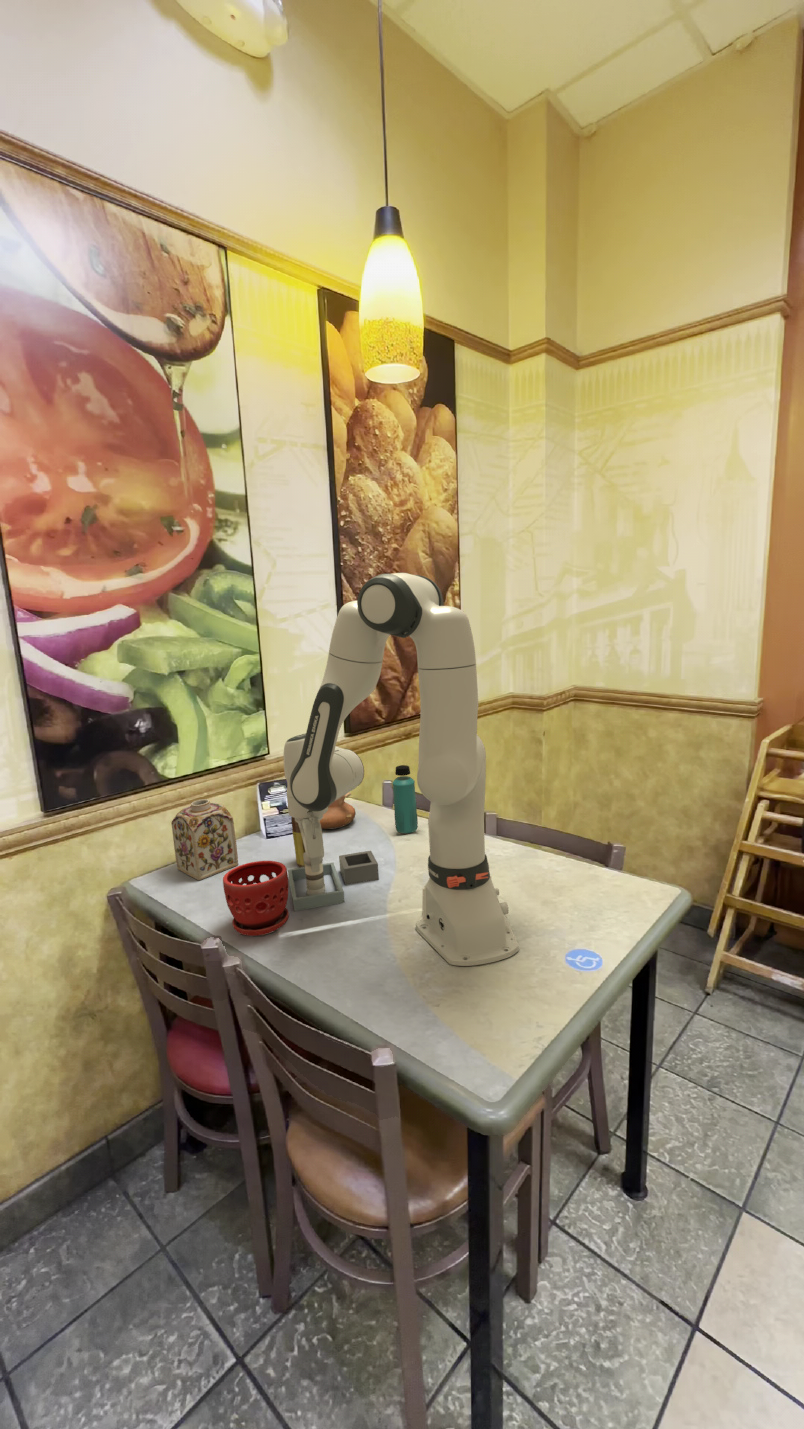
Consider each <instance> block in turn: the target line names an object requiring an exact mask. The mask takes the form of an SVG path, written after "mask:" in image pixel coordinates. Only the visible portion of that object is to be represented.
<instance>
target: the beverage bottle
mask: <svg viewBox="0 0 804 1429" xmlns="http://www.w3.org/2000/svg"><path fill="white" fill-rule="evenodd" d="M410 769H411V768H410V766H409V765H407V764H406V765H405V764H403V765H397V766H396V767H395V771H394V772H395V773H394V774H395V775H396V776H397V777H396V778H395V779H394V780H393V781H392V792H393V810H394V811H393V812H394V816H393V817H394V826H395V830H396V832H397V833H400V834H410V833H413V832H416V831H417V830H418V827H419V823H418V822H419V821H418V820H419V819H418V812H417V811H418V809H417V800H416V799H417V798H416V784H415V782H416V781H415V780H414V779H413V778H412V777H411V776H409V775H410V774H411V770H410Z"/></svg>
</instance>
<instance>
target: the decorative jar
mask: <svg viewBox="0 0 804 1429" xmlns="http://www.w3.org/2000/svg"><path fill="white" fill-rule="evenodd" d="M170 822H171V830H172V838H173V848H174V849H173V850H174V854H175V855H174V856H175V862H176V866H177V870H179V871H180V872H182V873H184V874H186V875H188V876H189V877H191V878H193V879H195V880H196V881H202V880H204V879H207V878H209V877H211V876H214V875H217V874H219V873H222V872H224V871H226V870H231V869H233V868H236V867H238V866H239V854H238V846H237V845H238V844H237V839H236V838H237V837H236V831H235V823H234V822H235V821H234V817H233V816H232V815H231V813H230V811H229V810H228V809H227V808H226V806H225V805H223V804H222V803H221V804H220V803H217V802H210V800H209V799H208V798H207V799H203V798H202V799H197V800H194V801H192V802H191V803H190V805H189V806H186V807H183V808H182V809H180V811H179V812H177V813H176V814H175V817H174V818H173V819H172V820H171V821H170Z"/></svg>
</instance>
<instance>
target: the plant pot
mask: <svg viewBox="0 0 804 1429" xmlns="http://www.w3.org/2000/svg"><path fill="white" fill-rule="evenodd" d="M273 873H274V874H275V877H274V875H273ZM262 876H266V877H267V878H268V879H267V880H266V881H265V880H264V881H261V877H262ZM249 877H253V879H252V880H249ZM240 879H241V881H240ZM222 884H223V885H222V886H223V892H224V897H225V901H226V904H227V907H228V910H229V911H230V914H231V915H232V917H233V919H232V927H233V929H234V930H235V931H236V932H237V933H239V934H240V935H244V936H251V937H252V936H253V937H255V936H264V935H268V934H271V933H273V932H276V931H278V930H279V929H280V927H283V926H284V925H285V923H286V922H287V920H288V919H289V914H290V912H289V910H288V908H287V907H286V906H287V903H288V899H289V887H290V886H289V876H288V869H287V867H286V865H285V864H284V863H282V862H279V861H275V860H259V861H258V860H257V861H251V862H247V863H244V864H242V865H237V866H235V867H233V868H231V869H229V871H227V872H226V873H225V874H224V875H223V877H222Z"/></svg>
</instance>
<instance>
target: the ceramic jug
mask: <svg viewBox="0 0 804 1429" xmlns="http://www.w3.org/2000/svg"><path fill="white" fill-rule="evenodd" d="M351 795H352V793H351V792H348V793H347V794H346V795H344V796H342V797H341V798H339V799H337V800H335V801H334V802H333V803H332V804H331V805H329V806H328V811H327V812H326V813H325V814H323V818H322V819H321V820H320V824H321V829H322V830H333V829H339V828H342V827H344V826H347V825H348V824H350V823H352V822H353V821H354V819H355V817H356V814H357V813H356V809H355V807H354V806H352V805H351V804H349V803H348V802H346V801H345V800H346V798H347V799H348V798H349V797H350V796H351Z"/></svg>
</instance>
